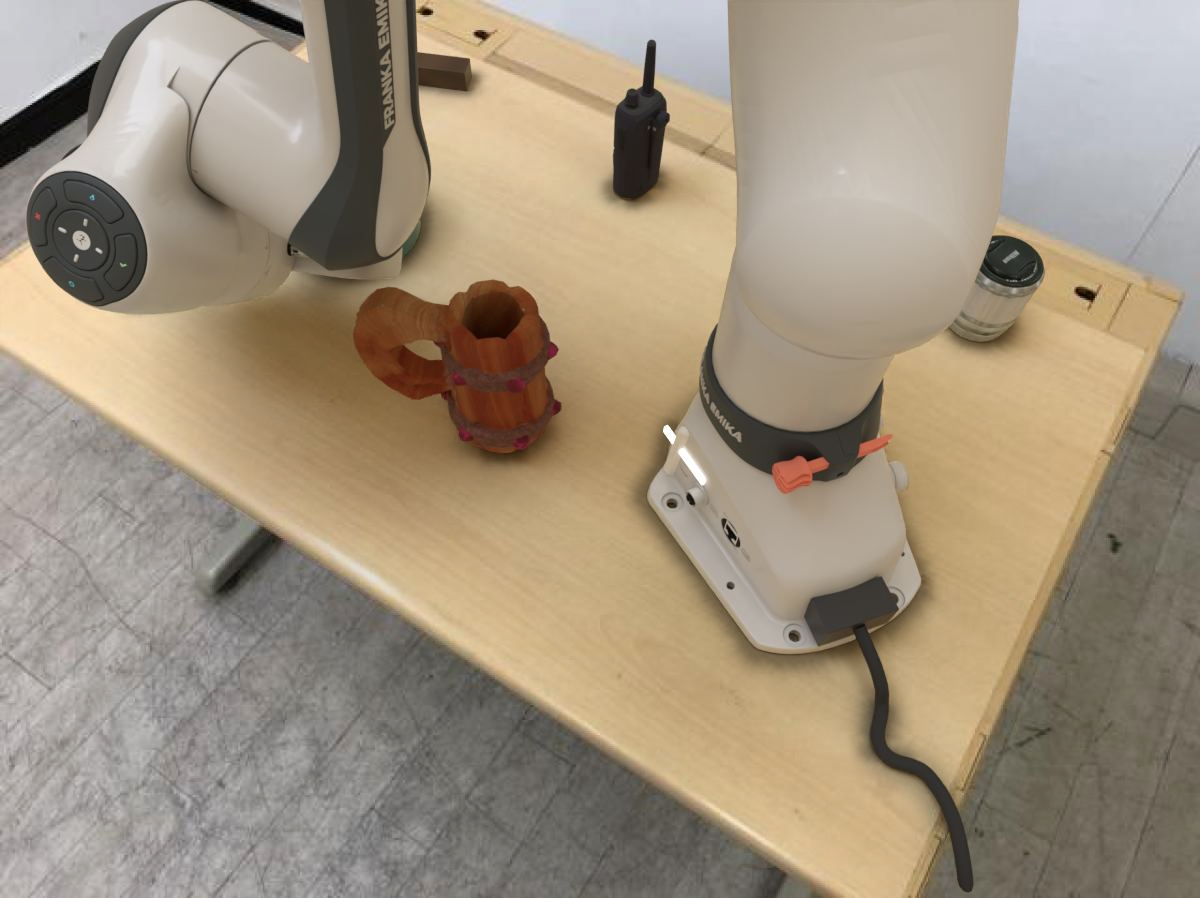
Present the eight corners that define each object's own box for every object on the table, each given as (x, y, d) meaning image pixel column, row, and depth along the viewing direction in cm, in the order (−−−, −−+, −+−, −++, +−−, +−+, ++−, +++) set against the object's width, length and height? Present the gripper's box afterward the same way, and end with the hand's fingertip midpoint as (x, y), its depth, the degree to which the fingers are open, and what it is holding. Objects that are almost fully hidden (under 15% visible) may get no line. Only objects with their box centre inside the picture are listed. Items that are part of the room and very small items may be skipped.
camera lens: (924, 314, 79) (956, 253, 72) (965, 279, 81) (1001, 216, 74) (982, 357, 77) (1021, 298, 70) (1023, 319, 79) (1065, 259, 72)
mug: (567, 387, 74) (565, 264, 61) (555, 472, 70) (550, 359, 57) (395, 371, 75) (357, 246, 62) (373, 454, 70) (327, 338, 57)
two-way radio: (640, 162, 88) (651, 24, 75) (675, 184, 87) (693, 46, 74) (604, 192, 86) (609, 54, 73) (639, 214, 84) (651, 78, 71)
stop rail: (472, 76, 94) (469, 58, 92) (466, 91, 93) (464, 72, 91) (344, 60, 95) (339, 42, 93) (337, 75, 94) (332, 56, 92)
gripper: (375, 212, 61) (427, 216, 74) (86, 174, 61) (190, 185, 75) (369, 304, 62) (421, 292, 75) (88, 266, 63) (189, 261, 76)
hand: (304, 239), depth 75 cm, fingers closed
